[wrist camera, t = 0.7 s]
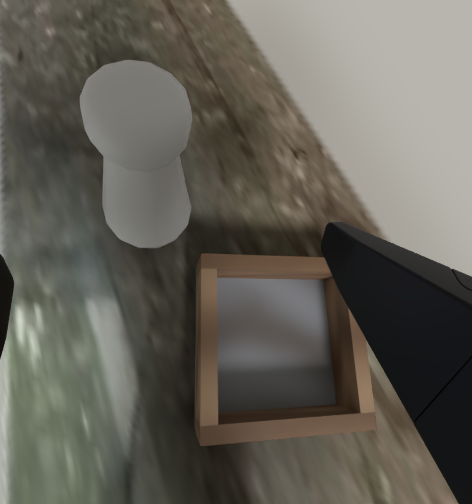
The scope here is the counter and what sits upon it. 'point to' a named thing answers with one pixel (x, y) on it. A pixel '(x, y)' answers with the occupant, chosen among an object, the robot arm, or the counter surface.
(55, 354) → the counter surface
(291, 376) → the shaker dock
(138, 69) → the salt shaker
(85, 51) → the counter surface
